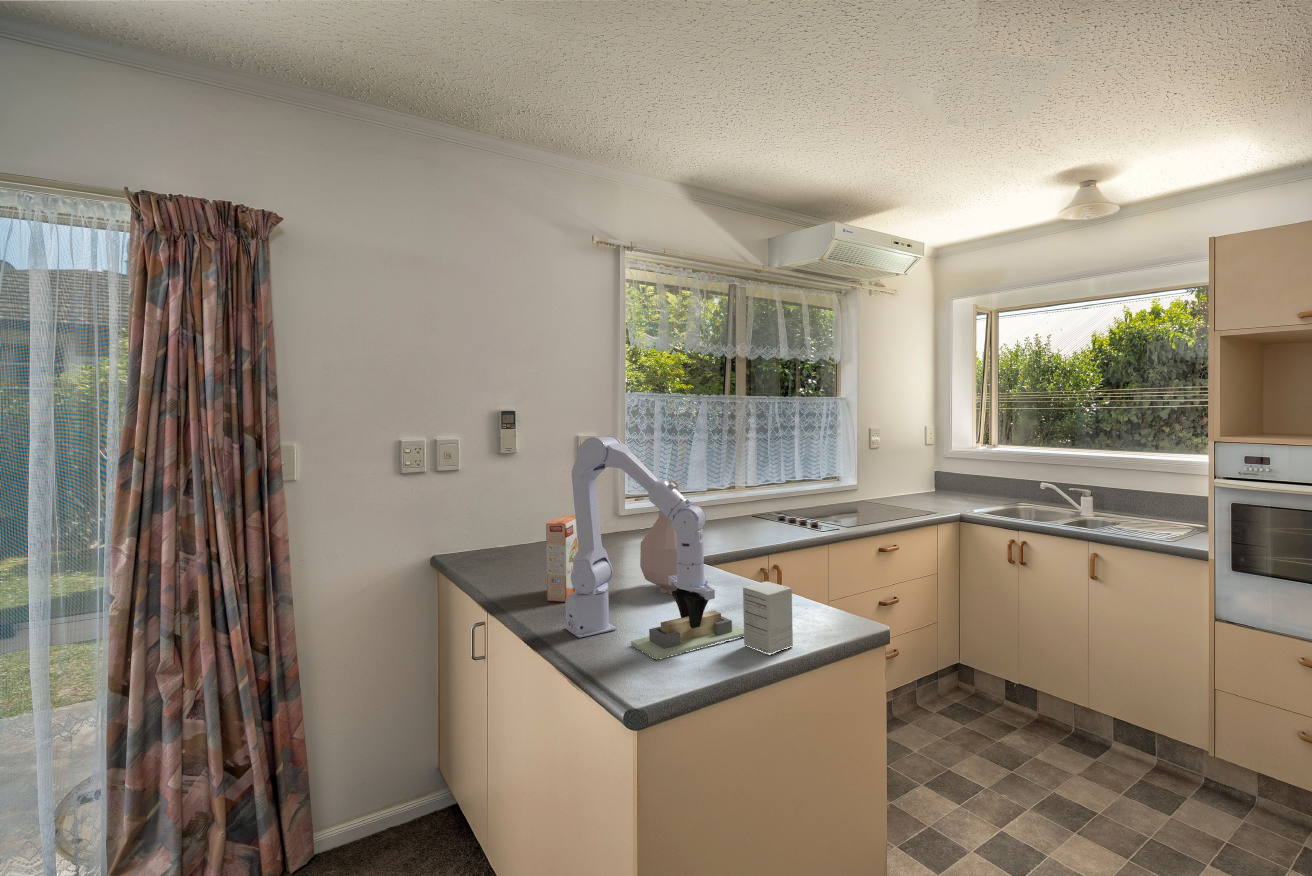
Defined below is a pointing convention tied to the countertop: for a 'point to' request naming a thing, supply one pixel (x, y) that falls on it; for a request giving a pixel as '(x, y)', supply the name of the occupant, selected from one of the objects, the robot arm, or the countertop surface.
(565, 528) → the cracker box
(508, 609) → the countertop surface
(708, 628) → the slat
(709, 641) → the board
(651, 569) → the vase
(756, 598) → the supplement box
